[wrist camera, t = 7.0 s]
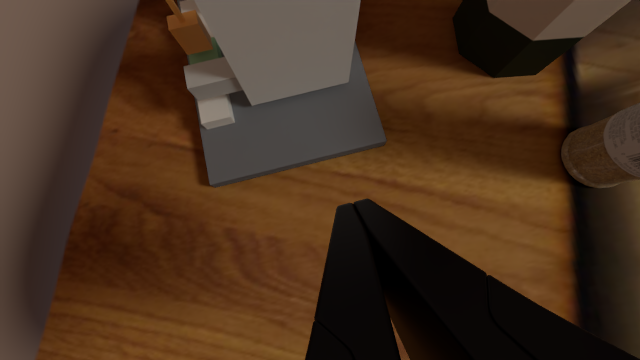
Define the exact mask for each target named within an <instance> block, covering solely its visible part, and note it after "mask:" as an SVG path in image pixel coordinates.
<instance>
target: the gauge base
mask: <svg viewBox="0 0 640 360" xmlns="http://www.w3.org/2000/svg"><path fill="white" fill-rule="evenodd" d="M177 2H178V8H179V10H180V11H181V13H184V12H188V11H192V10H196V12H197V14H198V15H199V17H200V19H201V21H202V22H203V24H204V26H205V28H206V29H207V31H208V33H209V35H210V37H211V41H212V46H213V49H211V50H207V51H203V52H199V53H194V54H190V55H187V59H188V64H189V65H192V64H196V63H200V62H205V61H209V60H213V59H217V58H222V57H225V56H224V54H223V52H222V50H221V48H220V47H219V45H218V43H217V41H216V39H215V38H214V36H213V34H212V32H211V30H210V28H209V27H208V25H207V23H206V21H205V19H204V17H203V16H202V14H201V12H200V10H199V8H198V7H197V5H196V3H195V1H194V0H177ZM194 98H195V97H194ZM195 104H196V109H197V115H198V121H199V126H200V132H201V138H202V143H203V149H204V155H205V160H206V166H207V171H208V177H209V183H210V185H211V186H213V187H215V188H216V187H220V186H224V185H228V184H232V183H236V182H240V181H244V180H248V179H252V178H256V177H260V176H264V175H268V174H272V173H276V172H280V171H284V170H288V169H292V168H296V167H300V166H304V165H308V164H312V163H316V162H320V161H324V160H328V159H332V158H336V157H340V156H344V155H348V154H352V153H356V152H360V151H364V150H368V149H372V148H376V147H380V146H384V145H385V143H386V141H387V140H386V137H385V134H384V130H383V127H382V124H381V121H380V118H379V115H378V112H377V108H376V105H375V102H374V99H373V96H372V93H371V90H370V86H369V83H368V80H367V77H366V74H365V71H364V68H363V64H362V61H361V58H360V55H359V52H358V49H357V46H356V42H354V49H353V55H352V62H351V69H350V76H349V82H348V83H344V84H340V85H336V86H332V87H327V88H323V89H319V90H315V91H311V92H307V93H303V94H298V95H294V96H290V97H286V98H282V99H278V100H274V101H269V102H265V103H261V104H257V105H253V106H252V105H251V103H250V101H249V100H248V98H247V96H246V94H245V92H244V90H241V91H237V92H233V93H229V94H225V95H220V96H216V97H212V98H208V99H204V100H199V101H198V100H197V99H196V98H195Z"/></svg>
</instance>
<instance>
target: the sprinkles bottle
mask: <svg viewBox="0 0 640 360" xmlns="http://www.w3.org/2000/svg"><path fill="white" fill-rule="evenodd" d="M561 157H562V161H563V163H564V166H565V168H566V169H567V171H568V173H569V174H570V175H571V176H572V177H573V178H574V179H576V180H577V181H579V182H581V183H583V184H584V185H587V186H590V187H594V188H605V187H613V186H615V185H617V184H619V183H625V182H630V181H635V180H640V103H638V104H635V105H633V106H631V107H629V108H626V109H624V110H622V111H620V112H618V113H616V114H615V115H613V116H611V117H608V118H606V119H604V120H602V121H599V122H597V123H594V124H592V125H590V126H585V127H582V128H579V129H577V130H575V131H573V132H571V133H570V134H569V135H568V136H567V138H566V139H565V140H564V142H563V145H562V149H561Z"/></svg>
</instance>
